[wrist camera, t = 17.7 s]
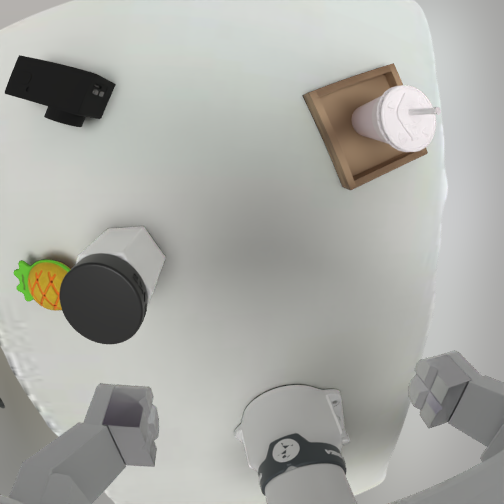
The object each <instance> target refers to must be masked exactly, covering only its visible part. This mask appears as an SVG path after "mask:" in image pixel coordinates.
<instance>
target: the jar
mask: <svg viewBox="0 0 504 504" xmlns="http://www.w3.org/2000/svg"><path fill="white" fill-rule="evenodd" d="M165 259H166V257H165V256H164V254H163V253H162V251H161V250H160V249H159V247H158V246H157V244H156V243H155V242H154V240H153V239H152V237H151V236H150V234H149V233H148V232H147V230H146V229H145V227H143V226H139V227H124V228H109V229H107V230H106V231H105V232H103V233H102V234H101V235H100V236H99V237H98V238H97V239H96V240H95V241H93V242H92V243H91V244H90V245H89V246H88V247H87V248H86V249H85V250H84V251H83V252H81V253H80V254H79V255H78V258H77V261H76V264H75V266H74V267H73V268H72V269H71V270H70V271H69V272H68V273H67V274H66V275H65V277H64V278H63V280H62V283H61V286H60V292H59V298H60V304H61V308H62V311H63V313H64V315H65V317H66V319H67V321H68V322H69V323H70V325H71V326H72V327H73V328H74V329H75V330H76V331H77V332H78V333H80V334H81V335H82V336H84V337H86V338H87V339H89V340H92V341H94V342H97V343H102V344H117V343H121V342H124V341H126V340H128V339H130V338H131V337H132V336H133V335H134V334H135V333H136V332H137V331H138V329H139V328H140V326H141V324H142V322H143V320H144V317H145V314H146V311H147V304H148V303H149V301H150V299H151V297H152V294H153V292H154V290H155V287H156V285H157V280H158V277H159V274H160V272H161V269H162V267H163V264H164V262H165Z"/></svg>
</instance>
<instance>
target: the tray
mask: <svg viewBox="0 0 504 504" xmlns="http://www.w3.org/2000/svg"><path fill="white" fill-rule="evenodd" d="M401 85H403V84H402V81H401V79H400V77H399V74H398V72H397V70H396V67H395V65H394V64H390V65H387V66H384V67H380V68H377V69H374V70H371V71H368V72H365V73H362V74H359V75H356V76H353V77H350V78H347V79H344V80H341V81H338V82H336V83H333V84H330V85H327V86H325V87H322V88H319V89H317V90H314V91H312V92H309V93H307V94H305V95H303V98H304V100H305V102H306V104H307V106H308V108H309V110H310V112H311V114H312V117H313V119H314V121H315V123H316V125H317V128H318V130H319V132H320V134H321V136H322V139H323V141H324V143H325V146H326V148H327V150H328V153H329V155H330V157H331V160H332V162H333V165H334V167H335V169H336V172H337V174H338V177H339V179H340V182H341V184H342V187H344V188H347V189H349V190H352V189H354V188H356V187H358V186H361V185H363V184H365V183H367V182H369V181H371V180H373V179H375V178H377V177H379V176H381V175H383V174H385V173H388V172H390V171H392V170H394V169H396V168H398V167H400V166H402V165H404V164H406V163H408V162H411V161H413V160H415V159H417V158H419V157H421V156H423V155H425V154H427V150H426V147H425V148H424V149H422V150H420V151H417V152H403V151H399V150H397V149H395V148H393V147H392V146H391V145H390V144H388V143H384V142H381V141H378V140H375V139H371V138H368V137H365V136H362V135H360V134H358V133H357V132H356V131H355V130H354V128H353V125H352V114H353V112H354V111H355V110H356V109H357V108H358V107H360V106H362V105H364V104H366V103H368V102H370V101H372V100H374V99H376V98H378V97H380V96H382V95H383V94H384V92H385V91H387V90H388V89H390V88H391V87H395V86H401Z"/></svg>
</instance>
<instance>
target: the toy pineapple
mask: <svg viewBox="0 0 504 504" xmlns="http://www.w3.org/2000/svg"><path fill="white" fill-rule="evenodd" d="M70 270H71V269H70V268H69V267H68V266H66V265H65V264H63V263H61V262H58V261H54V260H40V261H37V262H35V263H34V264H33V265H31V266H30V265H28V264H27V263H26V262H25V261H22V260H21V261H19V269H16V270H14V275H15V276H16V277H17V278H18V279H19V281H20V284H19V285H18V286H17V290H18V291H20V292H22V293H23V294H24V296H25V300H26V301H31V300H33V299H34V300H35V301H36V302H37V303H38V304H39V305H41V306H43V307H44V308H47V309H50V310H62V308H61V304H60V298H59V292H60V286H61V283H62V280H63V278H64V277H65V275H66V274H67V273H68V272H69V271H70Z"/></svg>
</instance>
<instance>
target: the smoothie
mask: <svg viewBox="0 0 504 504" xmlns="http://www.w3.org/2000/svg"><path fill="white" fill-rule="evenodd" d="M440 113H441V110H440V108H438V107H435V108H433V106H432V104H431V102H430V101H429V99H428V98H427V96H426V95H425V94H424V93H423V92H421V91H420V90H419V89H417V88H415V87H412V86H408V85H401V86H395V87H391V88H390V89H388V90H387V91H385V92H384V94H383V95H382V96H380V97H378V98H376V99H374V100H372V101H370V102H368V103H366V104H364V105H362V106H360V107H358V108H357V109H356V110H355V111H354V112H353V114H352V125H353V128H354V130H355V131H356V132H357V133H358V134H360V135H362V136H365V137H368V138H371V139H375V140H378V141H381V142H384V143H388V144H390V145H391V146H392V147H393V148H395V149H397V150H399V151H403V152H417V151H420V150H422V149H424V148H425V147H427V146H428V145H429V144H430V142H431V141H432V139H433V137H434V134H435V130H436V116H435V114H440Z"/></svg>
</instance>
